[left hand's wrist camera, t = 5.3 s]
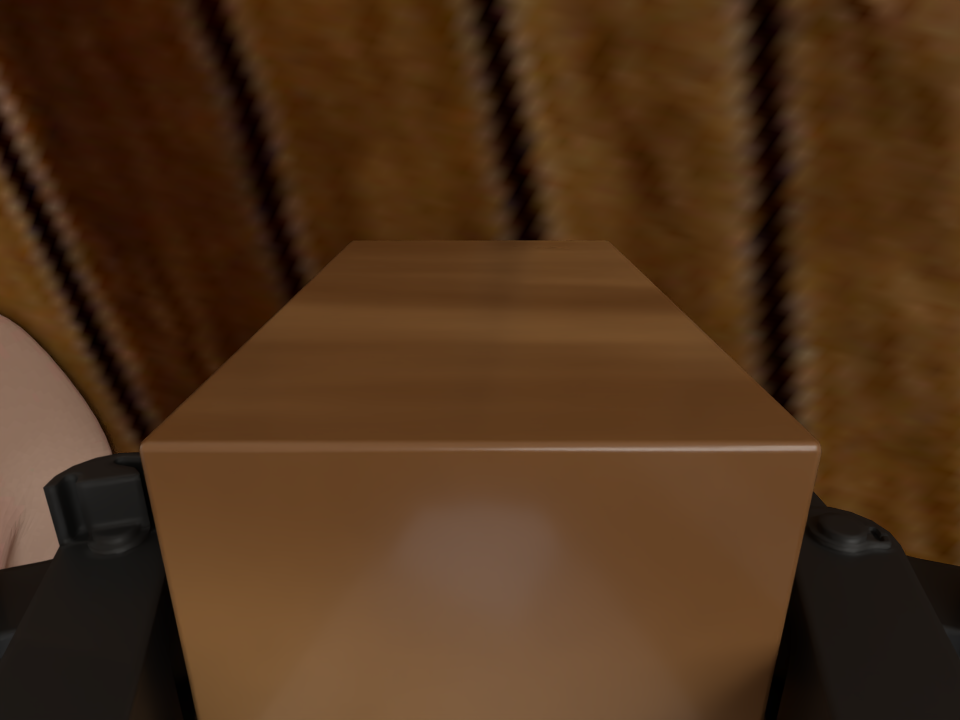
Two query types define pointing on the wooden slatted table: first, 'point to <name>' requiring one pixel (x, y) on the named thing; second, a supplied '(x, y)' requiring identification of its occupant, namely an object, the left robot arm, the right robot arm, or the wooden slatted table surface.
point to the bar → (480, 499)
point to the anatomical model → (36, 443)
